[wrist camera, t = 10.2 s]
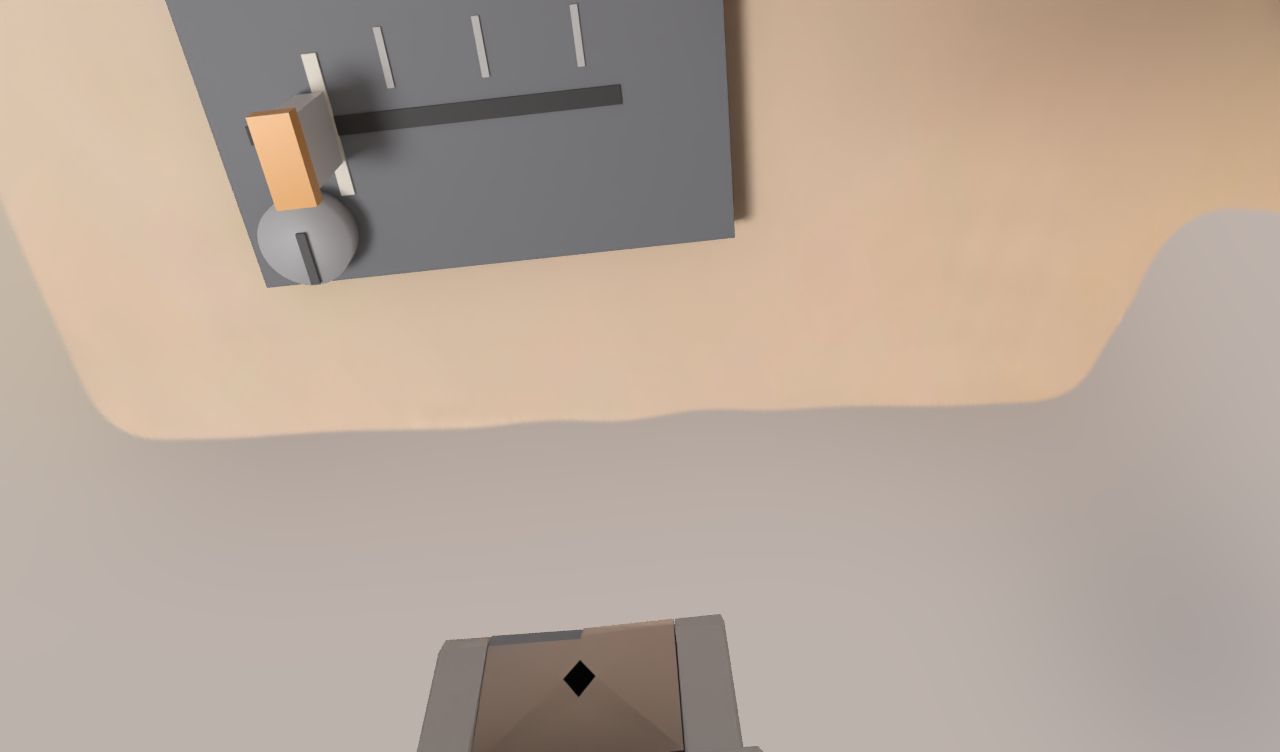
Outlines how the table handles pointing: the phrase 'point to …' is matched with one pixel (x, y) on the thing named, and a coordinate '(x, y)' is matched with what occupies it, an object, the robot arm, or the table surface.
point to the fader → (296, 150)
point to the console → (472, 127)
